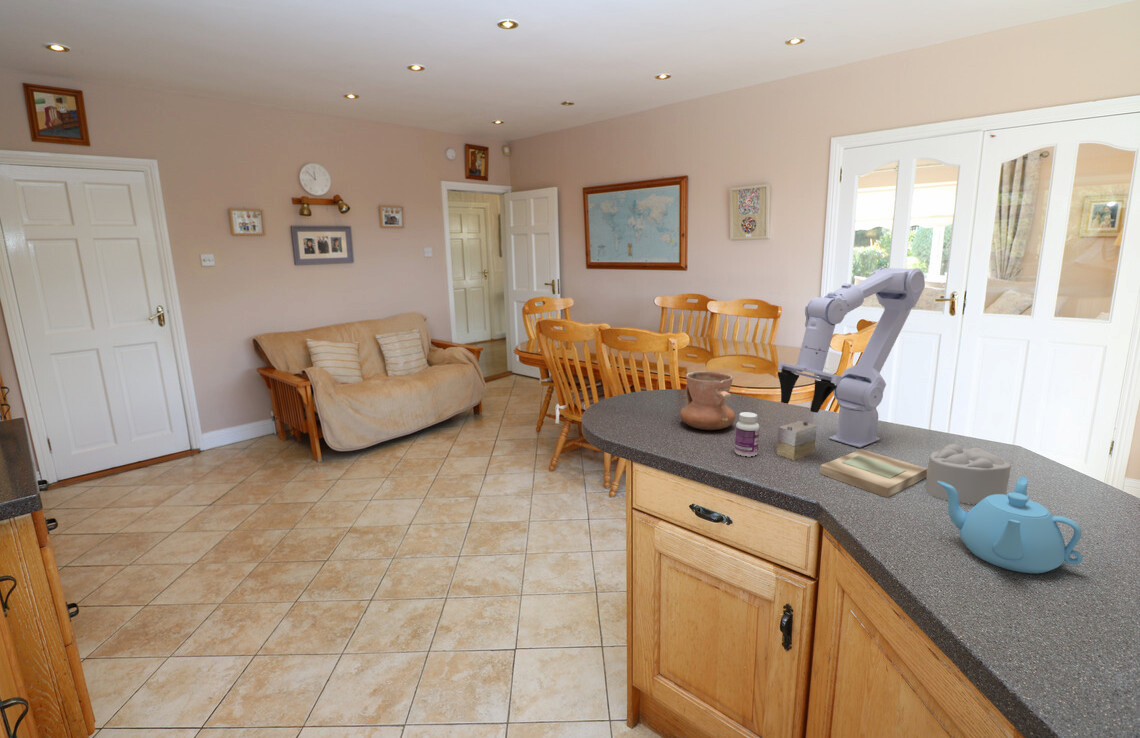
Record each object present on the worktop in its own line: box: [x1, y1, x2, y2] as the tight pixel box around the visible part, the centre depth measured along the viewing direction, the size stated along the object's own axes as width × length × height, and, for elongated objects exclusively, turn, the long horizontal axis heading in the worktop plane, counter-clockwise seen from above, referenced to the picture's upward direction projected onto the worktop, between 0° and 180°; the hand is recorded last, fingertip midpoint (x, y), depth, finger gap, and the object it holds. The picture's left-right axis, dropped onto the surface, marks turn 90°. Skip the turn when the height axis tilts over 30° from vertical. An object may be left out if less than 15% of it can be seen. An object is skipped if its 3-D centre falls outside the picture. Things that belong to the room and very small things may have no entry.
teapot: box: [937, 476, 1084, 574], centre depth 85 cm, size 15×15×10 cm
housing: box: [776, 420, 818, 461], centre depth 128 cm, size 8×4×7 cm, turn 124°
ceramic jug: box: [680, 370, 736, 431], centre depth 149 cm, size 18×14×14 cm
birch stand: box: [819, 448, 928, 499], centre depth 116 cm, size 16×14×2 cm
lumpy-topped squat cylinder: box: [924, 443, 1012, 505], centre depth 107 cm, size 10×13×9 cm
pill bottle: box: [734, 411, 760, 458], centre depth 129 cm, size 5×5×10 cm
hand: (798, 407), depth 126 cm, fingers open, 7 cm apart
